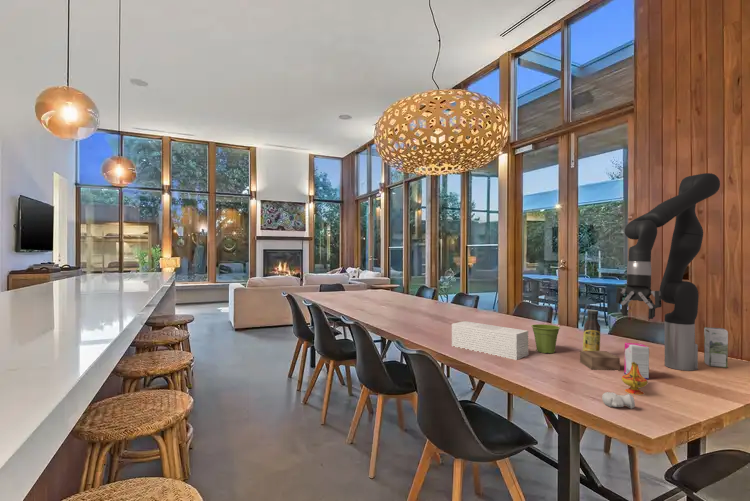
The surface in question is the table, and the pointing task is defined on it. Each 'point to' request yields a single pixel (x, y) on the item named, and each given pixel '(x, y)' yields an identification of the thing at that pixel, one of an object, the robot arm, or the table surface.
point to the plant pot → (545, 337)
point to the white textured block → (491, 339)
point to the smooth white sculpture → (618, 400)
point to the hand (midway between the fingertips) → (637, 317)
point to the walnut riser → (600, 360)
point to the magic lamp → (634, 380)
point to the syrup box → (716, 347)
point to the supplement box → (637, 358)
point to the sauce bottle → (591, 332)
